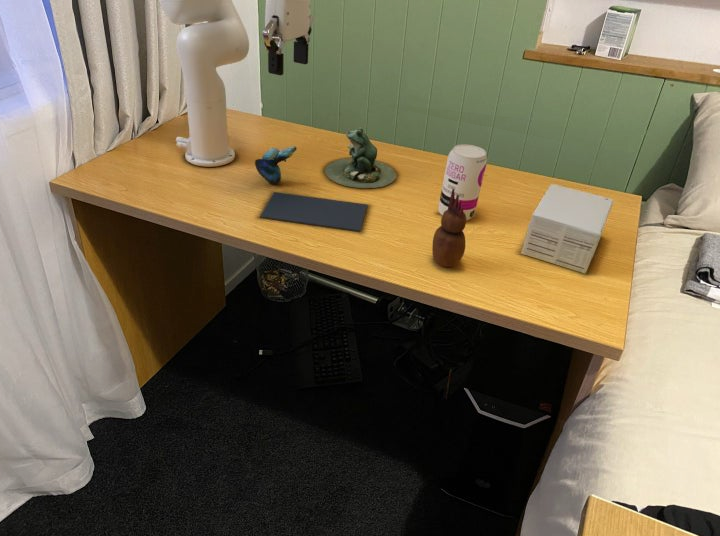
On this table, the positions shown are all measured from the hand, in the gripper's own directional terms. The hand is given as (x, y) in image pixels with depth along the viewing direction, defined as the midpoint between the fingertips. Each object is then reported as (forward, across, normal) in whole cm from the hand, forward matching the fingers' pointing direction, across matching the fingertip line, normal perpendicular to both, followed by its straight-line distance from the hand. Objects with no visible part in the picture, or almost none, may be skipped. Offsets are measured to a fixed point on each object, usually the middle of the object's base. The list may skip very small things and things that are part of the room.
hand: (288, 68), depth 116 cm
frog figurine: (+28, -20, +9) cm, 36 cm away
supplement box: (+29, -12, +60) cm, 68 cm away
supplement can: (+29, -13, +37) cm, 48 cm away
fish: (+28, -3, -5) cm, 29 cm away
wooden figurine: (+29, +7, +41) cm, 51 cm away
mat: (+28, +4, +9) cm, 30 cm away
